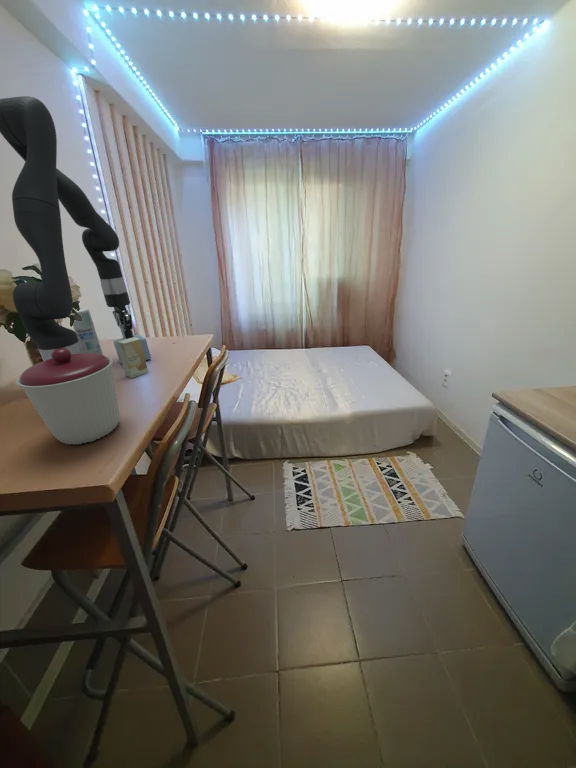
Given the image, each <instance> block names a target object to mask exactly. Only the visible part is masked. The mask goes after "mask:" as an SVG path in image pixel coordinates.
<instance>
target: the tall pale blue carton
mask: <svg viewBox="0 0 576 768" xmlns="http://www.w3.org/2000/svg"><path fill="white" fill-rule="evenodd" d="M79 309H80V310H79V311H78V314H79V315H80V316H81V317H82V319H83V320H82V321H75V322H74V323H73V325H72V327H73V331H75V333H76V334H77V337H78V340H79V343H80V345H81V348H82V351H83V353H97V354H101V355H104V353H103V351H102V350H103V349H102V347H101V345H100V341H99V337H98V335H97V331H96V328H95V325H94V322H93V317H92V315H91V311H90V309H89V308H79Z"/></svg>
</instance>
